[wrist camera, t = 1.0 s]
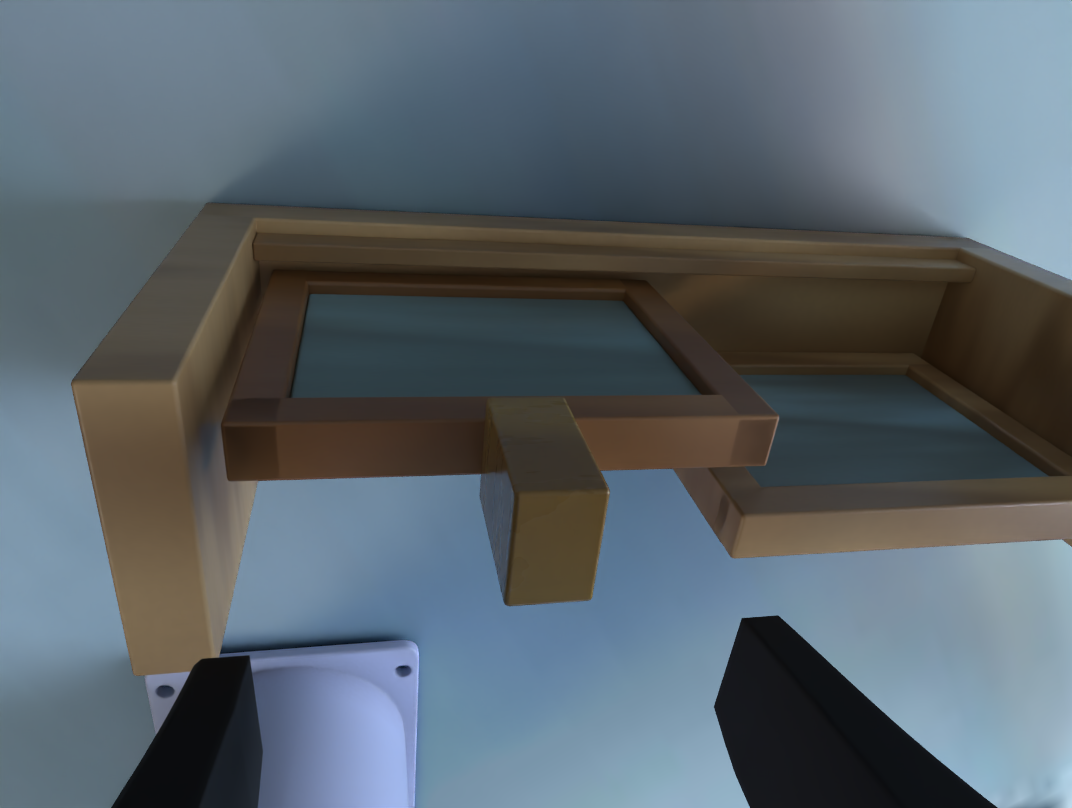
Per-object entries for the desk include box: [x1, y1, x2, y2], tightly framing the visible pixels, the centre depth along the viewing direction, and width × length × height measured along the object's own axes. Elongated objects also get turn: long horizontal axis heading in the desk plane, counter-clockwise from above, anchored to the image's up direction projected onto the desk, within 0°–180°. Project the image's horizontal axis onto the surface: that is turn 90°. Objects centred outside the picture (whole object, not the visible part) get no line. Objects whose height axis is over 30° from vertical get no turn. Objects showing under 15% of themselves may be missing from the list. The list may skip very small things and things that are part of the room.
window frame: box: [71, 203, 1072, 676], centre depth 16 cm, size 5×20×9 cm, turn 84°
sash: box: [221, 269, 779, 606], centre depth 13 cm, size 2×9×9 cm, turn 84°
